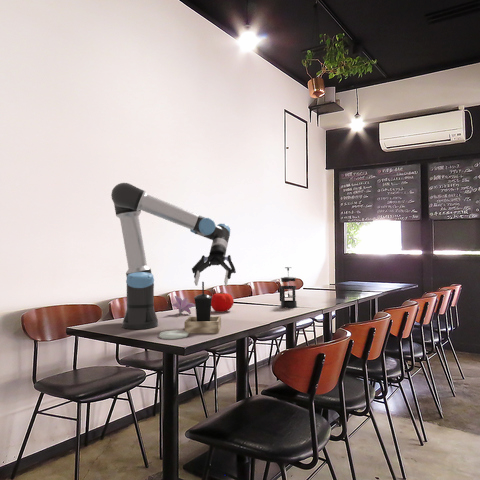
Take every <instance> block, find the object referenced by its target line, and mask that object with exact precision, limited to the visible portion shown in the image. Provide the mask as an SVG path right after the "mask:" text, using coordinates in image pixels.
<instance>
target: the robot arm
mask: <svg viewBox="0 0 480 480" xmlns="http://www.w3.org/2000/svg"><path fill="white" fill-rule="evenodd" d="M110 198H111V200H112V202H113V204H114V205H113V206H114V212H115V216H116V217H117V218H118V219H119V221H120V226H121V233H122V238H123V244H124V250H125V256H126V263H127V267H128V268H127V271H126V273H125V275H126V280H125V282H126V311H125V315H124V316H123V320H122V328H123V329H126V330H127V329H128V330H143V329H144V330H145V329H153V328H156V327H158V326H159V320H158V316H157V314H156V311H155V302H154V301H155V300H154V299H155V298H154V297H155V296H154V293H155V292H154V291H155V290H154V289H155V283H154V282H155V277H154V274H152V268H151V267H150V266H148V264H147V259H146V252H145V246H144V242H143V235H142V229H141V224H140V219H139V218H140V217H139V216H140V215H141V213H142V212H145V213H148V214H149V215H153V216H156V217H158V218H160V219H163V220H166V221H168V222H170V223H171V222H172V223H174V224H175V225H179V226H182V227H184V228H187V229H188V230H190V232H191V233H193V234H195V235H198V236H199V237H203V238H205V239H208V240H211V241H212V243H211V246H210V251H209V255H208V256H205V255H201V258H200V259H199V260H198V261H197V262H196V264H195V265H193V267H191V272H192V274H193V278H194V281H193V283H194V284H195V286H197V287H198V285H199V279H200V277H201V273H202V272H203V271H204V270H206V269H207V268H209V267H211V266H219V265H220V266H221V267H222V268H223V269H224V270H225V275H224V281H223V283H224V286H225V287H227V286H228V283H229V282H228V281H229V280H230V279H231V276H232V274H235V273H237V272H236V268H235V267H236V266H234V263H233V262H232V257H231V254H228V255H227V256H226V254H227V248H228V245H229V239H230V236H231V229H230V228H231V227H230V226H229V225H228V224H226V223H219V224H217V225H216V223H215V221H214V220H213V219H212V218H209V217H206V216H202V215H199V214H197V213H194V212H192V211H190V210H188V209H184V208H183V207H180V206H177V205H175V204H173V203H170V202H167V201H164V200H162V199H160V198H157V197H154V196H152V195H150V194H148V193H147V192H146V191H145V190H143V189H141V188H139V187H137V186H135V185H133V184H131V183H128V182H120V183H118V184H116V185H115V186H114V187H113V189H112V190H111V197H110ZM225 261H226V262H228V264H227V263H225ZM228 265H229V266H228Z"/></svg>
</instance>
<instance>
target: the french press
mask: <svg viewBox="0 0 480 480" xmlns="http://www.w3.org/2000/svg"><path fill="white" fill-rule="evenodd" d="M284 269H286V270H287V276H284V277H280V280H281V283H287V285H279V302H280V308H282V309H296V308H298V306H297V304H298V303H297V302H298V301H297V300H296V289H297V286H296V285H290V284H289V283H290V282H296V279H297V277H293V276H289V271H290V269H292V267H291V266H290V267H289V266H287V267H284ZM285 290H288V291H287V295H286V293H285ZM290 290H291V291H292V294H290ZM285 298H286V299H287V300H285ZM288 298H289V299H290V298H291V299H292V300H291V299H290V300H288Z"/></svg>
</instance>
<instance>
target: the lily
mask: <svg viewBox="0 0 480 480" xmlns="http://www.w3.org/2000/svg"><path fill="white" fill-rule="evenodd" d="M174 299H175V301H176V303H173V304H171V306H172V307H176V308H178V313H179V316H182V313H184V312H186V313H189V314H192V312H191V308H194V307H195V303H193V302H189V298H187V297H185V298H183V299H182V298H181V297H179V296H177V295H174Z"/></svg>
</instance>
